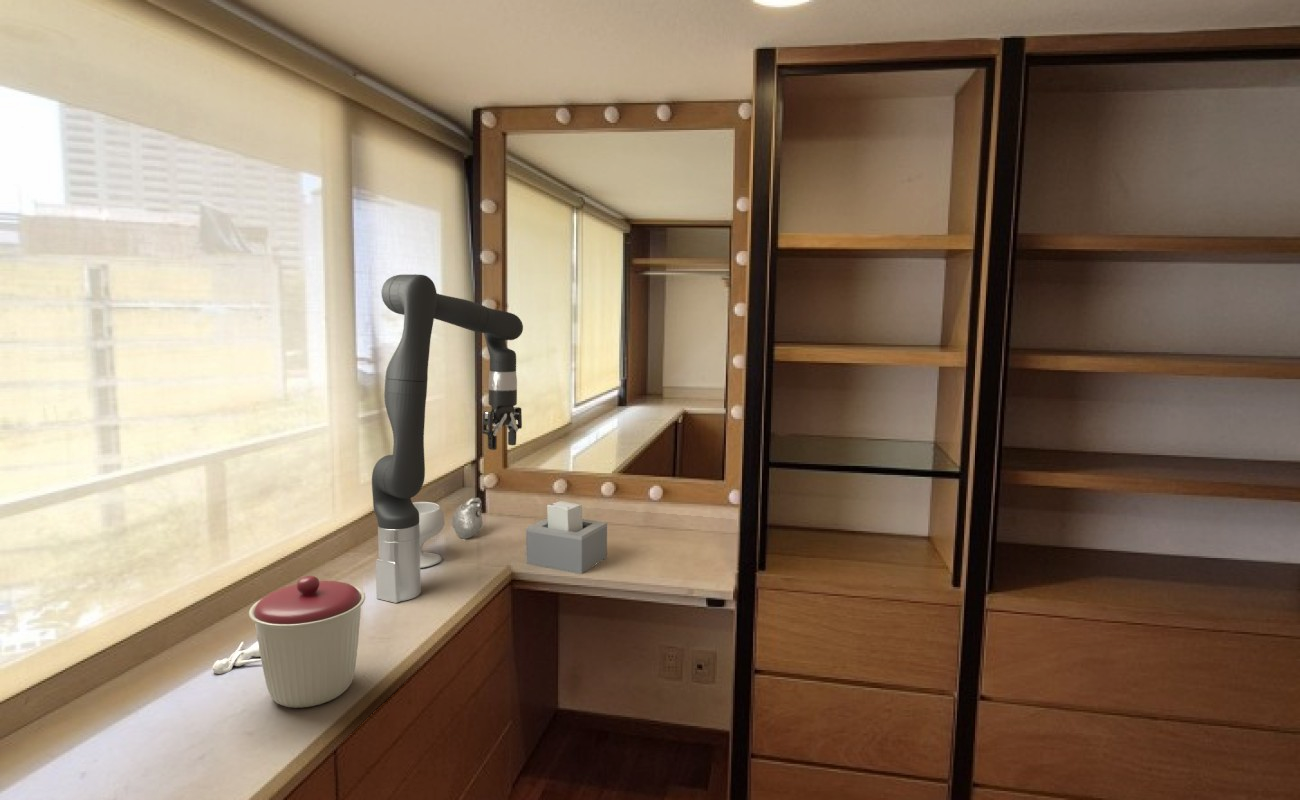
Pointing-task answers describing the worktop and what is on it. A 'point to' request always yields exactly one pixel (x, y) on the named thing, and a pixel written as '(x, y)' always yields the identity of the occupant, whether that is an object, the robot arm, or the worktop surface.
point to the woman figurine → (237, 659)
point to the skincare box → (565, 516)
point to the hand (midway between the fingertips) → (502, 447)
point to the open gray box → (566, 546)
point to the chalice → (429, 529)
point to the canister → (308, 640)
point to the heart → (468, 518)
